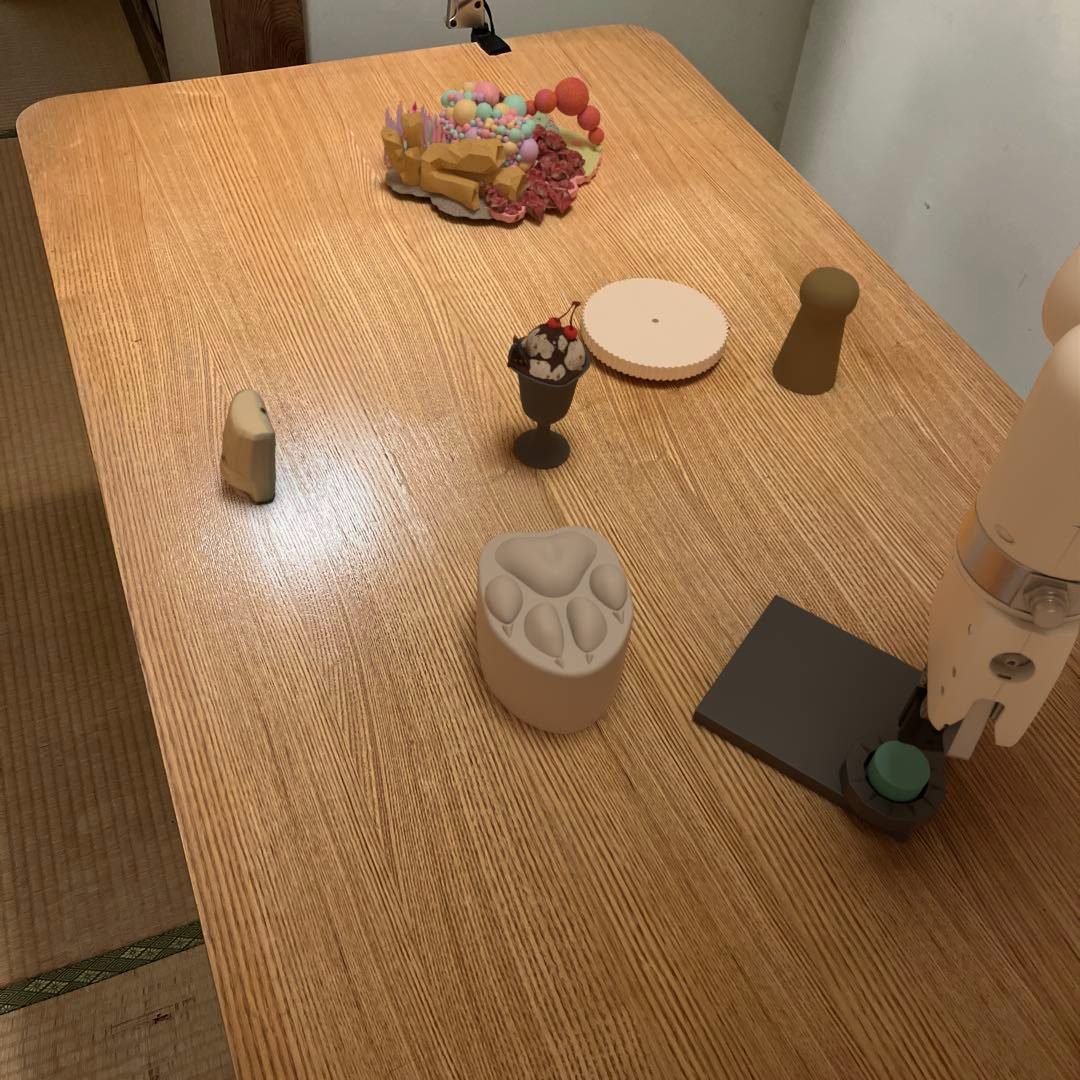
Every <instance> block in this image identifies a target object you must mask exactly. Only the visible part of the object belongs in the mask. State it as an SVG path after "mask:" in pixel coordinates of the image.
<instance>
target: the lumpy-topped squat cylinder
mask: <svg viewBox="0 0 1080 1080" xmlns="http://www.w3.org/2000/svg"><path fill="white" fill-rule="evenodd" d="M476 576H477V577H476V607H475V608H476V609H475V610H476V612H475V613H476V614H475V617H476V618H475V633H476V646H477V647H476V648H477V653H478V658H479V663H480V667H481V671H482V673H483V674H482V675H483V677H484V680H485V683H486V685H487V687H488V689H489V690H490V692H491V693H492V695H494V697H495V698H496V699H497V700H498V702H500V703H501V704H502V705H503V706H504V707H505V708H506V709H507V710H508V711H509V712H510V713H511V714H513V715H514V716H515V717H516V718H517V719H519V720H521V722H524V723H525V724H527V725H530V726H532V727H534V728H536V729H538V730H540V731H543V732H547V733H550V734H555V735H567V734H568V735H569V734H574V733H578V732H581V731H583V730H585V729H587V728H589V727H591V726H592V725H593V724H594V723H596V722H597V721H598V720H599V719H600V718H601V717H602V716H603V715H604V714H605V713H606V712H607V710H609V708H610V707H611V705H612V703H613V701H614V698H615V696H616V694H617V692H618V688H619V686H620V684H621V678H622V676H623V672H624V667H625V662H626V656H627V653H628V652H627V651H628V648H629V643H630V639H631V638H630V637H631V633H632V629H633V624H634V617H635V607H634V601H633V597H632V591H631V587H630V584H629V581H628V577H627V575H626V572H625V570H624V568H623V566H622V564H621V561H620V559H619V556H618V554H617V552H616V550H615V548H614V547H613V545H612V543H611V542H610V540H609V539H608V538H606V537H605V536H604V535H603V534H601V533H599V532H597V530H594V529H592V528H589V527H586V526H582V525H566V526H561V527H557V528H553V529H549V530H543V531H508V532H503V533H502V532H501V533H499V534H496V535H495V536H493V537H492V538H490V540H488V541H487V542H486V544H485V545H484V546H483V548H482V549H481V551H480V554H479V556H478V560H477V575H476Z"/></svg>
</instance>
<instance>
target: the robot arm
mask: <svg viewBox="0 0 1080 1080" xmlns="http://www.w3.org/2000/svg"><path fill="white" fill-rule="evenodd" d="M1041 325H1042V329H1043V332H1044V334H1045V336H1046V338H1047V339H1048V341H1049V343H1050V344H1051V345H1052V346H1053V348H1052V349H1051V351H1050V353H1049V355H1048V356H1047V358H1046V360H1045V361H1044V364H1043V365H1042V367H1041V370H1040V372H1039V373H1038V375H1037V377H1036V379H1035V380H1034V383H1033V385H1032V387H1031V388H1030V390H1029V393H1028V395H1027V396H1026V398H1025V400H1024V403H1023V404H1022V406H1021V407H1020V410H1019V412H1018V414H1017V416H1016V418H1015V419H1014V422H1013V424H1012V426H1011V428H1010V429H1009V432H1008V434H1007V435H1006V437H1005V439H1004V441H1003V443H1002V445H1001V447H1000V449H999V450H998V453H997V455H996V457H995V458H994V461H993V462H992V464H991V466H990V468H989V470H988V472H987V474H986V476H985V478H984V480H983V481H982V484H981V486H980V487H979V489H978V491H977V493H976V495H975V496H974V499H973V500H972V502H971V504H970V507H969V508H968V511H967V512H966V514H965V516H964V518H963V520H962V522H961V524H960V525H959V527H958V530H957V532H956V533H955V535H954V538H953V543H952V556H951V558H950V560H949V561H948V563H947V565H946V567H945V569H944V571H943V573H942V574H941V576H940V578H939V580H938V582H937V585H936V587H935V589H934V592H933V595H932V598H931V602H930V606H929V607H930V608H929V614H928V636H927V661H926V662H925V665H924V667H923V669H922V671H923V672H922V675H921V686H925V688H923V687H919V686H916V687H915V689H914V691H913V693H912V695H911V696H910V698H909V700H908V702H907V703H906V705H905V707H904V709H903V710H902V712H901V714H900V716H899V718H898V726H899V727H900V729H899V731H898V741H899V742H901V743H904V744H908V745H913V746H916V747H917V748H919V749H921V750H925V751H929V752H937V751H938V752H942V753H944V754H945V756H948V758H953V759H956V760H960V761H961V760H962V761H965V762H968V761H969V760H970V759H971V757H972V755H973V752H974V751H975V748H976V746H977V744H978V742H979V741H980V738H981V736H982V734H983V732H984V730H985V729H986V726H987V724H988V722H989V720H990V719H991V720H994V721H993V726H994V727H993V728H994V741H995V745H996V746H999V747H1000V746H1001V747H1005V748H1011V747H1013V746H1015V745H1016V744H1017V743H1018V742H1019V741H1020V740H1021V738H1022V737H1023V736H1024V734H1025V733H1026V731H1027V730H1028V728H1029V727H1030V726H1031V724H1032V722H1033V721H1034V720H1035V718H1036V716H1037V714H1038V713H1039V711H1040V710H1041V709H1042V706H1043V705H1044V703H1045V701H1046V700H1047V698H1048V697H1049V695H1050V693H1051V691H1052V690H1053V688H1054V686H1055V685H1056V683H1057V681H1058V679H1059V677H1060V675H1061V673H1062V672H1063V669H1064V667H1065V665H1066V663H1067V661H1068V659H1069V658H1070V655H1071V653H1072V650H1073V647H1074V645H1075V642H1076V640H1077V638H1078V635H1079V632H1080V242H1079V243H1078V244H1077V245H1076V247H1074V249H1073V250H1072V251H1071V252H1070V254H1069V255H1068V256H1067V257H1066V258H1065V260H1064V262H1063V263H1062V264H1061V265H1060V267H1059V269H1058V270H1057V272H1056V273H1055V274H1054V276H1053V278H1052V280H1051V282H1050V284H1049V286H1048V288H1047V289H1046V293H1045V295H1044V298H1043V302H1042V306H1041Z"/></svg>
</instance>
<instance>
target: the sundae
mask: <svg viewBox="0 0 1080 1080" xmlns="http://www.w3.org/2000/svg"><path fill="white" fill-rule="evenodd" d="M581 305H582V302H581V301H577V300H574V301H572V302H571V305H570V306H569V308H568V310H567V311H566V312H565V313H563V314H562V315H561V316H560V317H556V316H551V317H550V318H549V319H548V320H547V321H546V322H545V323H540V324H538V325H536V326H535V327H534V328H533V329H531V330H530V331H528V333H527V335H524V336H522V337H519V338H518V337H517V335H516V334H515V335H513V337H512V344H511V345H510V348H509V351H508V355H507V363H506V366H507V368H509V369H510V370H511V371H512V372H514V373H516V374H517V378H518V389H519V398H520V403H521V408H522V411H523V413H524V415H525V416H526V417H528V419H530V420H532V421H533V422H535V423H536V428H530V429H528V430H525V431H524V432H522V433H520V434H519V435H518V436H517V437H516V439H514V443H513V447H512V448H513V452H514V454H515V457H517V459H519V461H521V462H522V463H523V464H525V465H527V466H529V467H532V468H535V469H536V468H537V469H551V468H555V467H558V466H560V465H562V464H563V463H564V462H566V461H567V459H568V458H569V456H570V454H571V446H570V443H569V441H568V439H567V438H566V437H565V436H564V435H562V434H561V433H559V432H557V431H554V430H552V429H551V426H552V425H553V424H555V423H557V422H560V421H561V420H563V419H564V418H565V417H566V416H567V414H568V413H569V410H570V408H571V406H572V403H573V400H574V397H575V392H576V389H577V385H578V382H579V379H580V378H582V377H583V376H584V375H585V374H586V372H587V371H588V370H589V369H590V367H591V365H592V359H591V355H590V353H589V352H588V349H587V347H585V346H584V344H583V343H582V341H581V340H580V338H579V337H578V334H579V331H578V329H577V327H575V326H574V325H573V316H574V314H575V311H576V309H577V307H579V306H581ZM573 307H574V308H573ZM572 308H573V310H572V312H571V315H570V319H569V324H567V325H565V326H562V321H561V319H562V318H564V317H565V316H567V315H568V313H569V312H570V311H571V309H572Z"/></svg>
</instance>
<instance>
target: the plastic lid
mask: <svg viewBox="0 0 1080 1080" xmlns="http://www.w3.org/2000/svg"><path fill="white" fill-rule="evenodd" d="M717 305H718V304H717V303H716V302H714V300H713V299H710V298H709V296H707V295H705V293H703V292H700V290H695V288H694V287H690V286H689V285H684V283H678V282H677V281H672V280H670V279H669V280H666V279H664V278H662V279H660V278H657V277H656V278H653V277H649V278H648V277H643V278H641V277H637V278H635V277H631V279H629V278H625V280H624V279H620V280H619V281H618V280H616V281H614V282H610V283H609V284H606V285H604V287H603V286H601V287H600V289H596V292H593V293H592V294H591V295H590V296H589V298H587V300H586V302H585V303H584V306H583V308H582V314H581V321H580V333H581V334H580V335H581V337H582V341H583V342H584V345H586V349H589V352H590V353H592V355H593V356H594V357H596V359H597V360H600V361H601V363H602V364H605V365H606V366H607V367H611V369H612V370H616V371H617V372H619V373H620V372H622V374H624V375H628V376H630V377H635V378H637V379H639V378H641V379H642V380H646V379H648V380H649V381H653V380H655V381H657V382H659V381H660V380H661V381H662V382H666V380H667V381H670V382H671V381H673V380H675V381H679V380H680V379H681V380H685V379H686V378H687V379H689V378H691V377H696V376H697V375H701V374H702V372H703V373H705V372H707V370H710V369H711V367H714V366H715V364H717V363H718V361H720V360H721V357H722V356H723V354H724V352H725V349H726V344H727V341H728V336H729V326H728V325H729V324H728V322H727V318H726V316H725V314H724V313H723V310H721V307H720V306H717Z"/></svg>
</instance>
